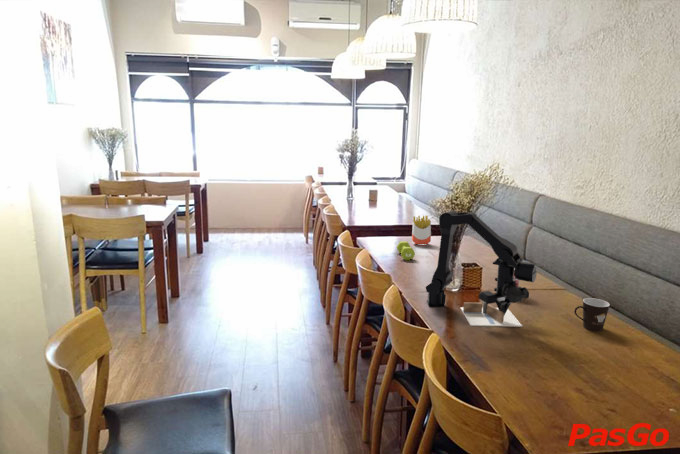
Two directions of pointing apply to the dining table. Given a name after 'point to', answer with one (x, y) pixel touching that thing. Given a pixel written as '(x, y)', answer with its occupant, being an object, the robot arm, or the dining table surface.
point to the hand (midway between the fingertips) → (502, 316)
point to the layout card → (490, 319)
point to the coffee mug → (594, 313)
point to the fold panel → (495, 313)
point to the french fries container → (421, 230)
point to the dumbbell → (405, 250)
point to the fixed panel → (475, 307)
